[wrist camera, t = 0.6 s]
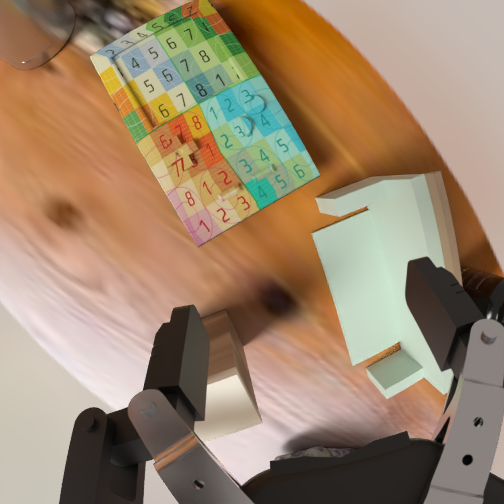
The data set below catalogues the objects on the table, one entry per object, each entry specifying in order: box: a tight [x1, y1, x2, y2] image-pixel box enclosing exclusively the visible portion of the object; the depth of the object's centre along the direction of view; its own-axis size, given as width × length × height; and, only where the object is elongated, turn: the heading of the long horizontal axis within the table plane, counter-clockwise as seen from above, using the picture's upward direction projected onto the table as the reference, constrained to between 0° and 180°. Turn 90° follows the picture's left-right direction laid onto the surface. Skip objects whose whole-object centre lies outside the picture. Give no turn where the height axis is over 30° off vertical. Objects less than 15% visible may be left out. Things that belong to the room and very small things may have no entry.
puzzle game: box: [90, 0, 320, 247], centre depth 25 cm, size 12×5×20 cm
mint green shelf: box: [311, 171, 463, 399], centre depth 27 cm, size 22×9×10 cm, turn 21°
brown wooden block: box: [194, 309, 262, 442], centre depth 25 cm, size 5×5×12 cm
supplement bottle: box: [460, 265, 504, 327], centre depth 29 cm, size 7×7×12 cm
